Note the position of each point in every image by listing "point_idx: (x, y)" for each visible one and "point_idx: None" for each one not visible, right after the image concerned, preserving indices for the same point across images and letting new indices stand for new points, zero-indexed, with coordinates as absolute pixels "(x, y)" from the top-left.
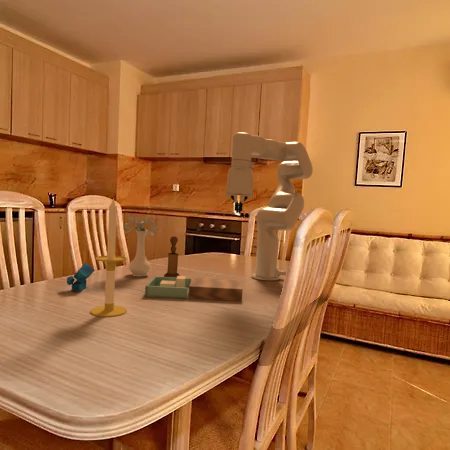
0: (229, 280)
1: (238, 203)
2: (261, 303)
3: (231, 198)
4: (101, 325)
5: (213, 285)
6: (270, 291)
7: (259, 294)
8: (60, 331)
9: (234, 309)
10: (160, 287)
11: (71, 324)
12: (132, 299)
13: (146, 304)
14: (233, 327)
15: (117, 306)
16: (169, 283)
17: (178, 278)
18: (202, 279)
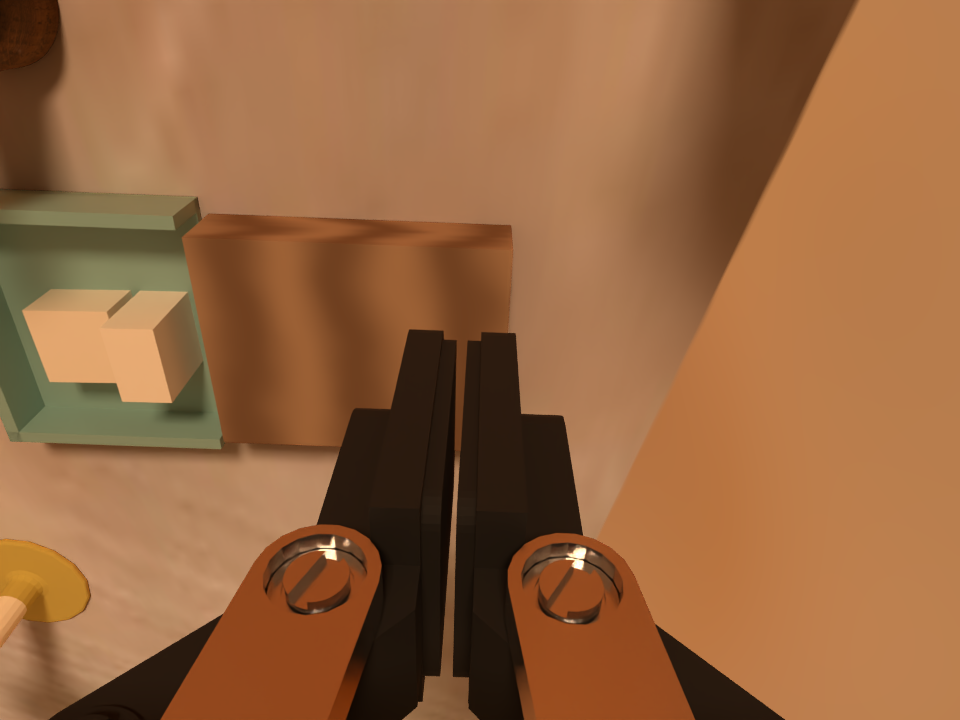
0: (437, 267)
1: (433, 672)
2: (587, 439)
3: (92, 692)
4: (85, 665)
5: (345, 406)
6: (716, 200)
7: (620, 285)
8: (20, 697)
9: (456, 521)
10: (88, 442)
11: (8, 665)
12: (17, 456)
13: (107, 506)
14: (443, 653)
15: (28, 553)
16: (96, 371)
17: (132, 396)
18: (258, 275)
